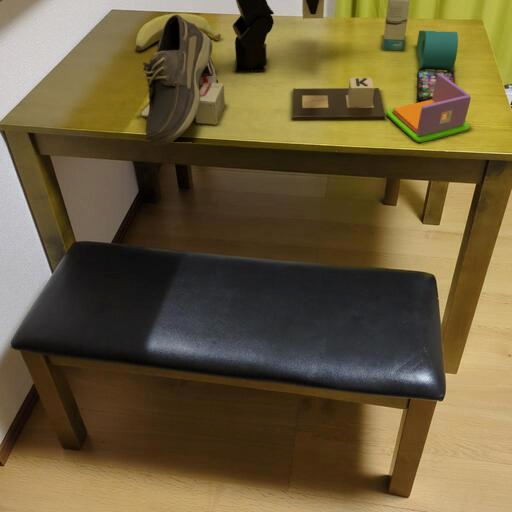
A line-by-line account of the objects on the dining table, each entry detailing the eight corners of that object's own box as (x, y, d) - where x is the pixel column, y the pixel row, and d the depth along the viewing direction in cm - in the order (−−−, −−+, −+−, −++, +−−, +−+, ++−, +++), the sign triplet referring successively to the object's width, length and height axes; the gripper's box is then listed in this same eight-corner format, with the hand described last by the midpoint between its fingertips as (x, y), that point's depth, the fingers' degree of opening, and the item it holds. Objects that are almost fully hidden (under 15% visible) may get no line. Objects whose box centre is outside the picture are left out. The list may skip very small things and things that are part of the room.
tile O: (302, 18, 128) (303, -1, 125) (302, 11, 132) (302, -8, 129) (323, 18, 128) (324, -2, 125) (322, 11, 131) (323, -9, 129)
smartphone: (416, 99, 117) (417, 67, 128) (415, 103, 118) (417, 71, 129) (456, 102, 116) (454, 69, 127) (455, 106, 117) (453, 73, 127)
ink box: (403, 51, 137) (410, -1, 129) (382, 50, 138) (388, -2, 130) (403, 36, 144) (410, -14, 136) (383, 36, 144) (389, -14, 136)
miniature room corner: (471, 129, 110) (480, 97, 105) (417, 144, 107) (424, 110, 102) (435, 101, 118) (441, 69, 113) (383, 113, 115) (388, 81, 110)
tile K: (349, 106, 117) (351, 87, 114) (348, 95, 120) (349, 76, 117) (372, 106, 116) (374, 87, 114) (370, 95, 120) (372, 76, 117)
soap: (157, 119, 117) (156, 115, 116) (137, 117, 118) (136, 113, 117) (176, 97, 124) (176, 93, 123) (157, 95, 125) (157, 91, 124)
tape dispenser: (421, 74, 128) (426, 39, 123) (416, 46, 139) (421, 13, 134) (452, 75, 127) (459, 40, 122) (445, 47, 138) (451, 14, 133)
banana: (144, 3, 146) (223, 13, 146) (146, 22, 151) (223, 32, 151) (132, 38, 139) (215, 48, 139) (135, 57, 144) (215, 67, 143)
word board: (292, 120, 115) (292, 116, 115) (293, 91, 124) (293, 88, 123) (384, 119, 114) (385, 115, 113) (378, 91, 123) (378, 87, 122)
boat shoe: (151, 162, 110) (108, 128, 103) (179, 57, 125) (143, 20, 118) (193, 143, 104) (150, 105, 97) (217, 34, 119) (182, -5, 112)
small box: (203, 81, 118) (193, 100, 112) (223, 83, 117) (214, 101, 111) (205, 104, 121) (195, 123, 115) (225, 106, 120) (216, 125, 115)
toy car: (211, 63, 136) (209, 31, 131) (221, 99, 123) (218, 64, 118) (178, 66, 135) (175, 34, 130) (184, 102, 122) (180, 68, 117)
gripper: (360, -57, 111) (353, 25, 122) (350, -81, 125) (345, -5, 136) (302, -55, 112) (300, 26, 122) (298, -79, 126) (297, -4, 136)
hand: (312, 10), depth 129 cm, fingers closed on tile O, 4 cm apart
